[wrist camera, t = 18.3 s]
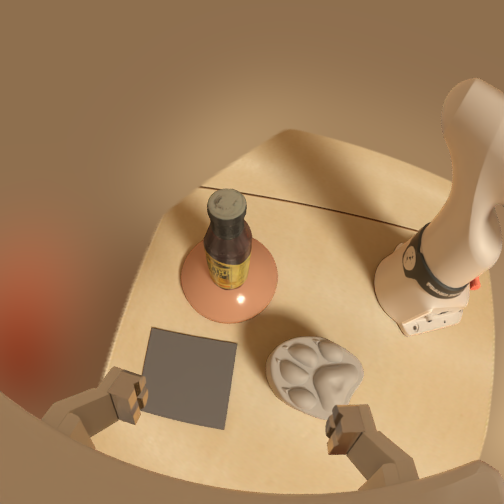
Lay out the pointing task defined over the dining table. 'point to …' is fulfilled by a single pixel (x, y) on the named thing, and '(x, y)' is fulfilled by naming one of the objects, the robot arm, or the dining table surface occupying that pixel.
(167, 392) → the rubber mat
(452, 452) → the dining table surface
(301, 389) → the lumpy-topped squat cylinder
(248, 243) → the sauce bottle
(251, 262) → the terracotta plate
